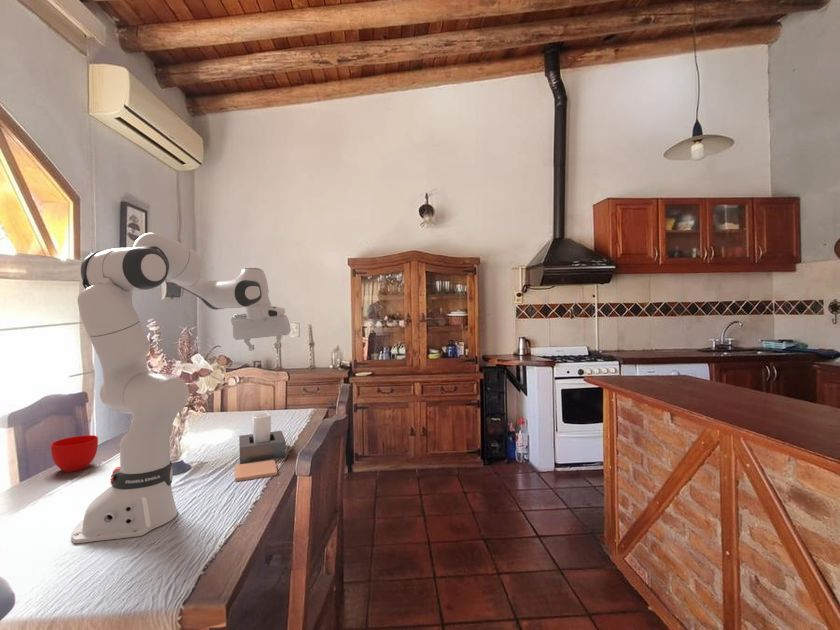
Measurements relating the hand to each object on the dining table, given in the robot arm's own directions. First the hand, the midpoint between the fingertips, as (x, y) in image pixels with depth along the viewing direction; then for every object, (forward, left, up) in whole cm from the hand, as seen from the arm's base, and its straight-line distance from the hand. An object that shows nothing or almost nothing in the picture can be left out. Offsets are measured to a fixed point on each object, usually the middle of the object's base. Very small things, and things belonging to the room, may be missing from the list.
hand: (264, 348), depth 156 cm
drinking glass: (-1, +7, -41) cm, 42 cm away
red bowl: (-62, +21, -41) cm, 78 cm away
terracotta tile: (-4, -11, -41) cm, 43 cm away
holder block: (-1, +7, -41) cm, 42 cm away
